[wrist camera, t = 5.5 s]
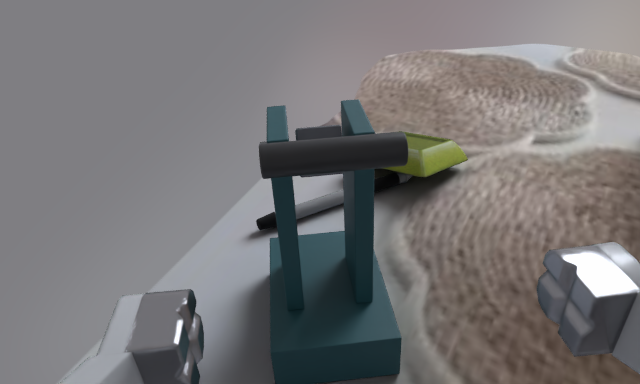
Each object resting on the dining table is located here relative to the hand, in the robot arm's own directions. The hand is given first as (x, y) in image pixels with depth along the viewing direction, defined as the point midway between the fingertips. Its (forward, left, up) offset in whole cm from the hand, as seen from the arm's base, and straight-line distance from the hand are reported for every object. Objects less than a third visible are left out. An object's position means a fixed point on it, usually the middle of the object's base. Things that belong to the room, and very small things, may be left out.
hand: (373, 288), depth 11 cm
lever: (0, -10, -3) cm, 10 cm away
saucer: (-10, -32, -12) cm, 35 cm away
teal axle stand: (0, -14, -15) cm, 20 cm away
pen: (+5, -27, -16) cm, 32 cm away
